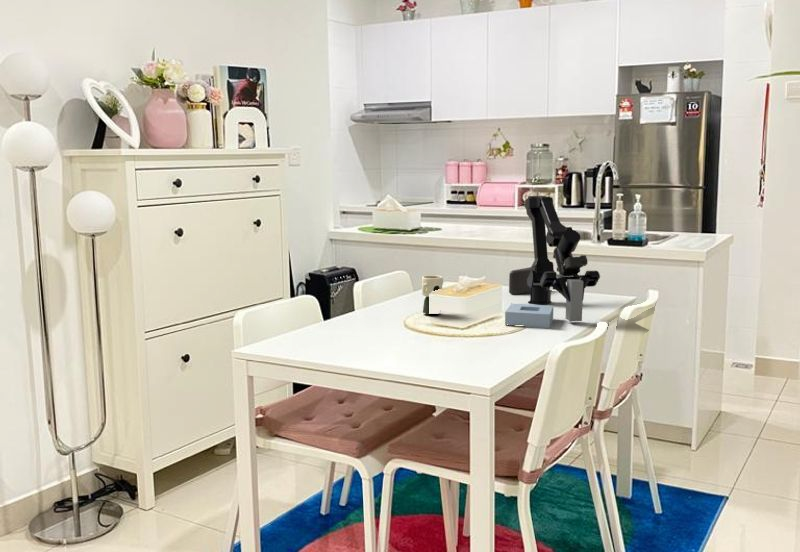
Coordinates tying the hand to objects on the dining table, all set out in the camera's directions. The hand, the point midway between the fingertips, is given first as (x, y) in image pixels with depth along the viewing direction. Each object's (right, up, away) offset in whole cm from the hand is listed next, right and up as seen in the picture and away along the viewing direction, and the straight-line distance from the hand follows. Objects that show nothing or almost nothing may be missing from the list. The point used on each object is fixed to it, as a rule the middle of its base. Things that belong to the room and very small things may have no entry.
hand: (575, 300), depth 263 cm
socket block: (-14, -7, +4) cm, 16 cm away
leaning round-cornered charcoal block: (-9, +1, +56) cm, 56 cm away
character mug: (-46, -5, +15) cm, 48 cm away
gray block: (0, -6, +3) cm, 7 cm away
